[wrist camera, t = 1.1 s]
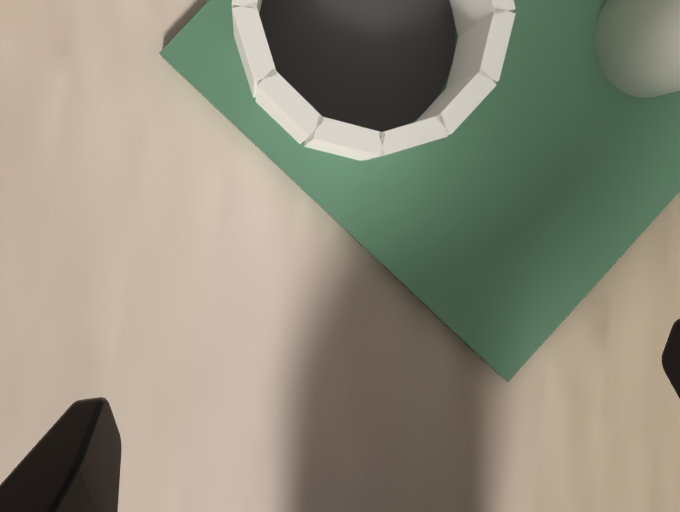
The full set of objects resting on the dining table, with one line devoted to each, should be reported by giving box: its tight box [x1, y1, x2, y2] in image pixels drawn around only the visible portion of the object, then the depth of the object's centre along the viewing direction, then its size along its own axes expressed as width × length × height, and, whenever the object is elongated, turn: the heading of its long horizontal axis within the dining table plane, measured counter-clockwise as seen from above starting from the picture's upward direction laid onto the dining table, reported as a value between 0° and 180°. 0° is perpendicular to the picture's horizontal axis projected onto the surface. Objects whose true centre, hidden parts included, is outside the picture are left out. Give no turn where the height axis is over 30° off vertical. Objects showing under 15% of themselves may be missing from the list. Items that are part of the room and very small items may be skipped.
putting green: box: [160, 0, 680, 382], centre depth 23 cm, size 20×20×4 cm
